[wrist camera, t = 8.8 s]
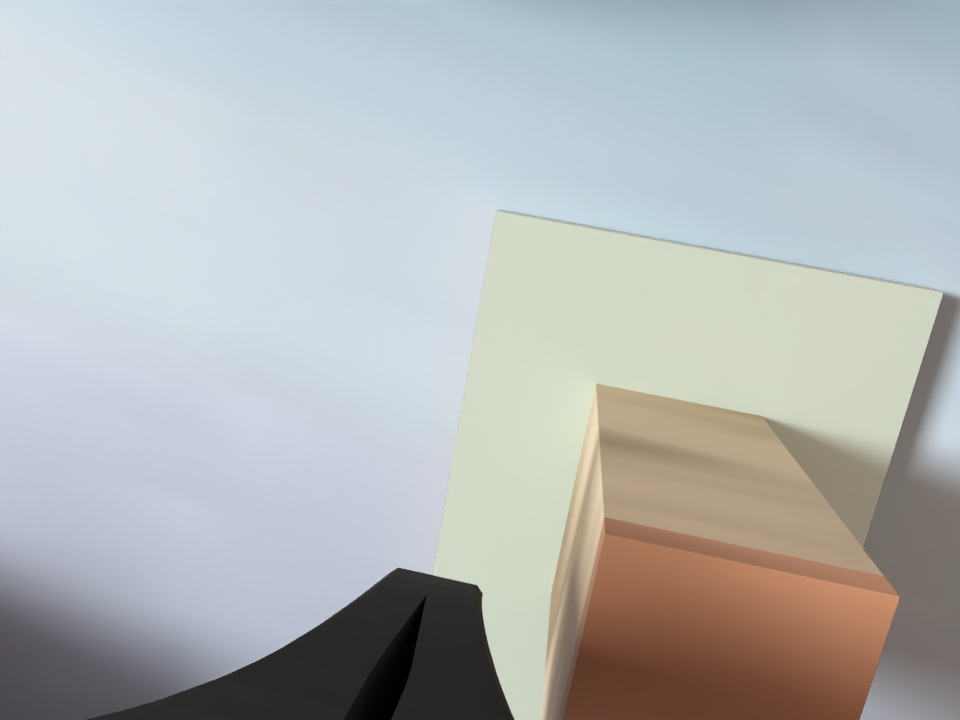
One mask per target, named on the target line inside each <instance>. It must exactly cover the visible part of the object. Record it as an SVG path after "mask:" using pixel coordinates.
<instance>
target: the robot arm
mask: <svg viewBox="0 0 960 720" xmlns="http://www.w3.org/2000/svg"><path fill="white" fill-rule="evenodd" d="M482 596H483V593H482V592H481V590H480V589H479V587H478V586H477V585H475V584H470V583H465V582H461V581H456V580H452V579H447V578H443V577H438V576H434V575H429V574H424V573H420V572H415V571H411V570H406V569H402V568H397V569H395V570H394V571H392V572H391V573H389V574H388V575H387V576H385V577H384V578H383V579H381V580H380V581H379V582H378V583H376V584H375V585H374V586H373V587H371V588H370V589H369V590H367V591H366V592H365V593H363V594H362V595H361V596H359V597H358V598H357V599H355V600H354V601H353V602H351V603H350V604H349V605H347V606H346V607H344V608H343V609H342V610H340V611H339V612H337V613H336V614H334V615H333V616H332V617H330V618H329V619H327V620H326V621H324V622H323V623H321V624H320V625H318V626H317V627H315V628H314V629H312V630H311V631H309V632H307V633H306V634H304V635H302V636H301V637H299V638H297V639H296V640H294V641H292V642H291V643H289V644H288V645H286V646H284V647H283V648H281V649H279V650H277V651H276V652H274V653H272V654H270V655H268V656H266V657H264V658H262V659H260V660H258V661H256V662H254V663H252V664H250V665H247V666H245V667H243V668H241V669H239V670H237V671H234V672H232V673H230V674H228V675H225V676H223V677H221V678H218V679H216V680H213V681H210V682H207V683H205V684H202V685H199V686H197V687H194V688H191V689H188V690H186V691H183V692H180V693H177V694H175V695H172V696H169V697H166V698H164V699H161V700H158V701H155V702H151V703H148V704H144V705H141V706H138V707H134V708H131V709H127V710H124V711H120V712H116V713H112V714H108V715H104V716H100V717H96V718H92V719H88V720H515V719H514V717H513V715H512V713H511V710H510V708H509V705H508V703H507V700H506V698H505V695H504V692H503V690H502V687H501V684H500V682H499V679H498V676H497V673H496V670H495V666H494V663H493V659H492V656H491V652H490V649H489V645H488V641H487V636H486V632H485V626H484V621H483V613H482Z"/></svg>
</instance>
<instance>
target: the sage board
mask: <svg viewBox="0 0 960 720" xmlns="http://www.w3.org/2000/svg"><path fill="white" fill-rule="evenodd" d="M942 296H943V292H939V291H936V290H933V289H929V288H926V287H921V286H915V285H910V284H904V283H899V282H893V281H888V280H882V279H877V278H871V277H866V276H860V275H855V274H849V273H844V272H838V271H833V270H827V269H822V268H816V267H811V266H805V265H800V264H794V263H789V262H783V261H778V260H772V259H767V258H761V257H756V256H750V255H745V254H739V253H734V252H728V251H723V250H717V249H712V248H706V247H701V246H696V245H690V244H685V243H679V242H674V241H668V240H663V239H657V238H652V237H646V236H641V235H635V234H630V233H624V232H619V231H613V230H608V229H602V228H597V227H591V226H586V225H580V224H575V223H569V222H564V221H558V220H553V219H547V218H542V217H536V216H531V215H525V214H520V213H514V212H509V211H503V210H498V211H496V214H495V220H494V226H493V231H492V237H491V243H490V248H489V254H488V260H487V266H486V271H485V277H484V283H483V289H482V294H481V300H480V306H479V311H478V317H477V323H476V329H475V334H474V340H473V346H472V351H471V357H470V363H469V369H468V374H467V380H466V386H465V392H464V397H463V403H462V409H461V414H460V420H459V426H458V432H457V437H456V443H455V449H454V455H453V460H452V466H451V472H450V477H449V483H448V489H447V495H446V500H445V506H444V512H443V517H442V523H441V529H440V535H439V540H438V546H437V552H436V558H435V563H434V569H433V575H434V576H438V577H443V578H447V579H452V580H456V581H461V582H465V583H470V584H475V585H477V586H478V587H479V589H480V590H481V592H482V593H483V596H482V613H483V621H484V626H485V632H486V636H487V641H488V645H489V649H490V652H491V656H492V659H493V663H494V666H495V670H496V673H497V676H498V679H499V682H500V684H501V687H502V690H503V692H504V695H505V698H506V700H507V703H508V705H509V708H510V710H511V713H512V715H513V717H514V719H515V720H541V716H542V703H543V691H544V678H545V665H546V653H547V640H548V628H549V615H550V602H551V591H552V586H553V582H554V577H555V572H556V568H557V563H558V558H559V554H560V549H561V544H562V540H563V535H564V530H565V526H566V521H567V516H568V512H569V507H570V502H571V498H572V493H573V488H574V483H575V479H576V474H577V469H578V465H579V460H580V455H581V451H582V446H583V441H584V437H585V432H586V427H587V423H588V418H589V413H590V409H591V404H592V399H593V395H594V390H595V385H596V383H597V384H602V385H607V386H612V387H617V388H622V389H627V390H632V391H637V392H642V393H647V394H653V395H658V396H663V397H668V398H673V399H678V400H683V401H688V402H693V403H698V404H703V405H708V406H713V407H718V408H723V409H728V410H733V411H739V412H744V413H749V414H754V415H759V416H762V417H763V419H764V420H765V421H766V423H767V424H768V425H769V426H770V428H771V429H772V430H773V432H774V433H775V434H776V436H777V437H778V438H779V440H780V441H781V442H782V443H783V445H784V446H785V447H786V449H787V450H788V451H789V453H790V454H791V455H792V456H793V458H794V459H795V460H796V462H797V463H798V464H799V466H800V467H801V468H802V469H803V471H804V472H805V473H806V475H807V476H808V477H809V479H810V480H811V481H812V483H813V484H814V485H815V486H816V488H817V489H818V490H819V492H820V493H821V494H822V496H823V497H824V498H825V499H826V501H827V502H828V503H829V505H830V506H831V507H832V509H833V510H834V511H835V512H836V514H837V515H838V516H839V518H840V519H841V520H842V522H843V523H844V524H845V526H846V527H847V528H848V529H849V531H850V532H851V533H852V535H853V536H854V537H855V539H856V540H857V541H858V542H859V544H860V545H861V546H862V548H863V547H864V544H865V541H866V537H867V534H868V531H869V528H870V525H871V521H872V518H873V515H874V512H875V509H876V506H877V502H878V499H879V496H880V493H881V490H882V487H883V483H884V480H885V477H886V474H887V471H888V467H889V464H890V461H891V458H892V455H893V452H894V448H895V445H896V442H897V439H898V436H899V432H900V429H901V426H902V423H903V420H904V417H905V413H906V410H907V407H908V404H909V401H910V398H911V394H912V391H913V388H914V385H915V382H916V378H917V375H918V372H919V369H920V366H921V363H922V359H923V356H924V353H925V350H926V347H927V343H928V340H929V337H930V334H931V331H932V328H933V324H934V321H935V318H936V315H937V312H938V308H939V305H940V302H941V299H942Z"/></svg>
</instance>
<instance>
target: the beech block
mask: <svg viewBox="0 0 960 720" xmlns="http://www.w3.org/2000/svg"><path fill="white" fill-rule="evenodd" d="M899 599H900V596H899V595H898V593H897V592H896V591H895V589H894V588H893V587H892V585H891V584H890V583H889V582H888V580H887V579H886V578H885V576H884V575H883V574H882V572H881V571H880V570H879V569H878V567H877V566H876V565H875V563H874V562H873V561H872V559H871V558H870V557H869V555H868V554H867V553H866V552H865V550H864V549H863V548H862V546H861V545H860V544H859V542H858V541H857V540H856V539H855V537H854V536H853V535H852V533H851V532H850V531H849V529H848V528H847V527H846V526H845V524H844V523H843V522H842V520H841V519H840V518H839V516H838V515H837V514H836V512H835V511H834V510H833V509H832V507H831V506H830V505H829V503H828V502H827V501H826V499H825V498H824V497H823V496H822V494H821V493H820V492H819V490H818V489H817V488H816V486H815V485H814V484H813V483H812V481H811V480H810V479H809V477H808V476H807V475H806V473H805V472H804V471H803V469H802V468H801V467H800V466H799V464H798V463H797V462H796V460H795V459H794V458H793V456H792V455H791V454H790V453H789V451H788V450H787V449H786V447H785V446H784V445H783V443H782V442H781V441H780V440H779V438H778V437H777V436H776V434H775V433H774V432H773V430H772V429H771V428H770V426H769V425H768V424H767V423H766V421H765V420H764V419H763V417H762V416H759V415H754V414H749V413H744V412H739V411H733V410H728V409H723V408H718V407H713V406H708V405H703V404H698V403H693V402H688V401H683V400H678V399H673V398H668V397H663V396H658V395H653V394H647V393H642V392H637V391H632V390H627V389H622V388H617V387H612V386H607V385H602V384H597V383H596V385H595V390H594V395H593V399H592V404H591V409H590V413H589V418H588V423H587V427H586V432H585V437H584V441H583V446H582V451H581V455H580V460H579V465H578V469H577V474H576V479H575V483H574V488H573V493H572V498H571V502H570V507H569V512H568V516H567V521H566V526H565V530H564V535H563V540H562V544H561V549H560V554H559V558H558V563H557V568H556V572H555V577H554V582H553V586H552V591H551V602H550V615H549V628H548V640H547V653H546V665H545V678H544V691H543V703H542V716H541V720H860V717H861V714H862V711H863V708H864V705H865V702H866V699H867V695H868V692H869V689H870V686H871V683H872V680H873V677H874V674H875V671H876V668H877V665H878V662H879V659H880V656H881V653H882V650H883V647H884V644H885V641H886V638H887V635H888V632H889V629H890V626H891V623H892V620H893V617H894V614H895V611H896V608H897V605H898V602H899Z"/></svg>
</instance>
